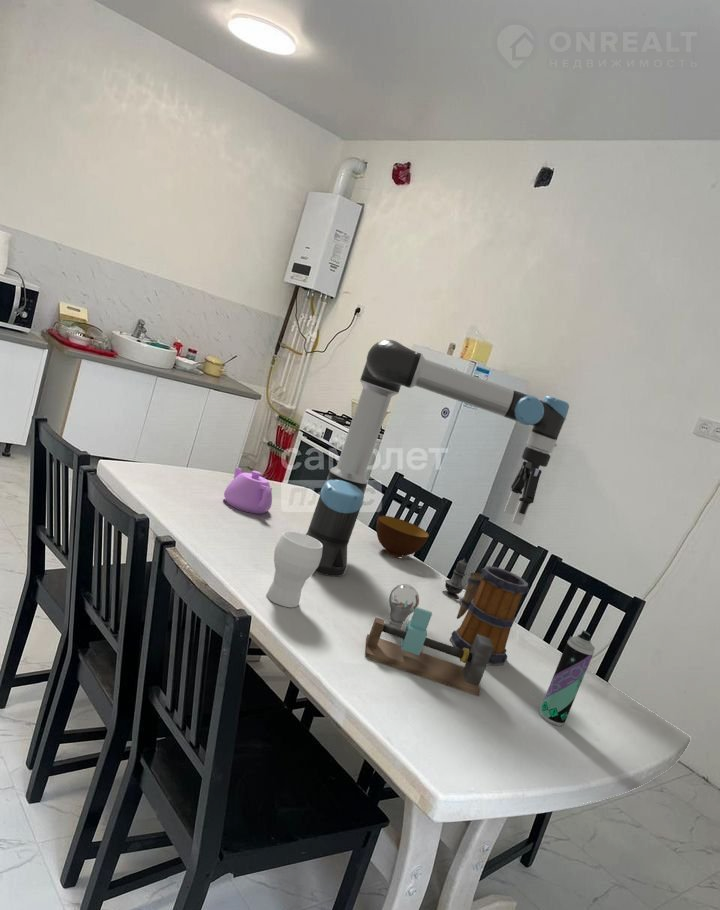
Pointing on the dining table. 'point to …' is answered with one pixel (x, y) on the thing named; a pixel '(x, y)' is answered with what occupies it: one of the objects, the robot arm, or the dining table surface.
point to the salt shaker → (455, 581)
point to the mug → (489, 610)
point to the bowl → (399, 536)
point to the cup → (293, 566)
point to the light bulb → (402, 604)
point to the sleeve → (416, 631)
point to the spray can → (567, 679)
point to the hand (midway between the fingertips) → (512, 518)
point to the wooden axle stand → (431, 658)
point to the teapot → (249, 492)
